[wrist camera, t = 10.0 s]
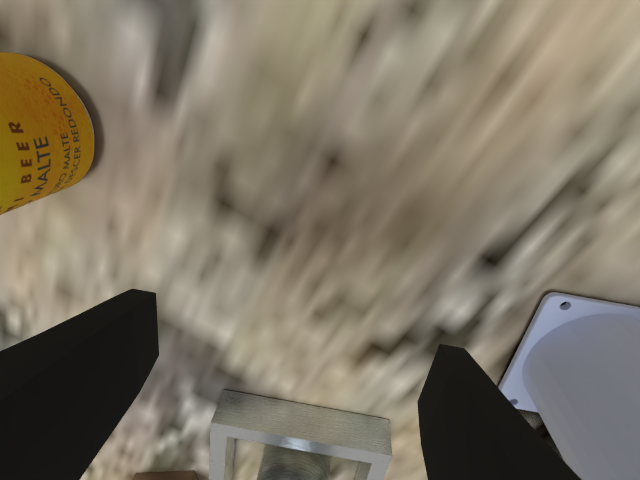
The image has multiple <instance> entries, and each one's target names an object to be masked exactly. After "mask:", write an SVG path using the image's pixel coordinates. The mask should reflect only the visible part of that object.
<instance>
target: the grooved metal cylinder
mask: <svg viewBox="0 0 640 480" xmlns="http://www.w3.org/2000/svg"><path fill="white" fill-rule="evenodd" d="M329 471H330V456H329V455H324V454H319V453H313V452H308V451H302V450H297V449H292V448H286V447H281V446H275V445H270V444H266V445H265V448H264V452H263V456H262V460H261V464H260V469H259V473H258V477H257V480H329Z"/></svg>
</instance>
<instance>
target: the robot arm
mask: <svg viewBox="0 0 640 480" xmlns="http://www.w3.org/2000/svg"><path fill="white" fill-rule="evenodd" d="M563 302H567V303H566V304H565V305H562V306H560V305H561V304H562V303H563ZM158 356H159V346H158V326H157V306H156V293H153V292H148V291H142V290H137V289H130V290H128V291H126V292H124V293H121V294H119V295H117V296H115V297H113V298H111V299H109V300H107V301H105V302H103V303H101V304H99V305H97V306H95V307H93V308H91V309H89V310H87V311H85V312H83V313H81V314H79V315H77V316H75V317H73V318H71V319H68V320H66V321H64V322H62V323H60V324H58V325H56V326H54V327H52V328H50V329H48V330H46V331H44V332H42V333H40V334H38V335H36V336H33V337H31V338H29V339H27V340H24V341H22V342H20V343H18V344H16V345H13V346H11V347H9V348H7V349H5V350H2V351H0V480H79V479H80V478H81V476H82V475H83V474H84V472H85V471H86V469H87V468H88V466H89V465H90V463H91V462H92V461H93V459H94V458H95V456H96V455H97V453H98V452H99V450H100V449H101V448H102V446H103V445H104V443H105V442H106V440H107V439H108V438H109V436H110V435H111V433H112V432H113V430H114V429H115V427H116V426H117V425H118V423H119V422H120V420H121V419H122V417H123V416H124V414H125V413H126V411H127V410H128V408H129V407H130V406H131V404H132V403H133V401H134V400H135V398H136V397H137V395H138V394H139V392H140V390H141V388H142V387H143V385H144V383H145V381H146V379H147V377H148V376H149V374H150V372H151V370H152V368H153V366H154V364H155V362H156V360H157V358H158ZM511 399H513V400H511ZM516 408H517V409H522V410H528V411H533V412H538V413H539V414H540V416H541V418H542V420H543V422H544V424H545V426H546V427H547V429H548V431H549V433H550V435H551V437H552V439H553V440H554V442H555V444H556V446H557V448H558V450H559V452H560V453H561V455H562V457H563V459H564V461H565V462H564V461H563V460H562V459H561V458H560V457H559V456H558V454H557V453H556V452H555V451H554V450H553V449H552V448H551V447H550V446H549V445H548V444H547V443H546V442H545V441H544V440H543V438H542V437H541V436H540V435H539V434H538V433H537V432H536V431H535V430H534V429H533V427H532V426H531V425H530V424H529V423H528V422H527V421H526V420H525V418H524V417H523V416H522V415H521V414H520V413H519V412H518V410H517V409H516ZM418 414H419V427H420V437H421V446H422V451H423V456H424V461H425V466H426V471H427V476H428V480H640V307H636V306H631V305H625V304H619V303H614V302H608V301H602V300H597V299H591V298H586V297H580V296H574V295H569V294H563V293H557V292H552V293H549V294H547V295H546V296H545V297H544V298H543V299H542V301H541V303H540V305H539V307H538V309H537V311H536V313H535V315H534V317H533V319H532V321H531V323H530V325H529V327H528V329H527V331H526V333H525V335H524V337H523V339H522V341H521V343H520V345H519V347H518V349H517V351H516V353H515V355H514V357H513V359H512V361H511V363H510V365H509V367H508V369H507V371H506V373H505V375H504V377H503V379H502V381H501V383H500V385H499V387H497V386H496V385H495V384H494V382H493V381H492V380H491V379H490V378H489V376H488V375H487V374H486V373H485V372H484V371H483V369H482V368H481V367H480V366H479V365H478V363H477V362H476V361H475V360H474V359H473V358H472V357H471V355H470V354H469V353H468V352H467V351H466V350H465V349H464V348H459V347H454V346H448V345H443V344H440V345H439V347H438V350H437V352H436V355H435V358H434V360H433V363H432V366H431V368H430V371H429V374H428V376H427V379H426V381H425V384H424V387H423V389H422V392H421V395H420V397H419V400H418Z"/></svg>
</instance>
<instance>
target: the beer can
mask: <svg viewBox="0 0 640 480" xmlns="http://www.w3.org/2000/svg"><path fill="white" fill-rule="evenodd" d="M94 142H95V138H94V128H93V124H92V121H91V118H90V115H89V113H88V111H87V109H86V107H85V105H84V103H83V102H82V100H81V99H80V97H79V96H78V95H77V94H76V93H75V91H74V90H73V89H72V88H71V87H70V85H69V84H68V83H67V82H66V81H65V80H64V79H63V78H62V77H61V76H59V75H58V74H57V73H56V72H55V71H53V70H52V69H51V68H49V67H48V66H46V65H45V64H43V63H41V62H40V61H37V60H35V59H33V58H31V57H28V56H25V55H21V54H17V53H7V52H0V215H1V214H3V213H6V212H8V211H11V210H13V209H16V208H18V207H21V206H23V205H26V204H28V203H31V202H33V201H35V200H38V199H40V198H43V197H45V196H48V195H50V194H53V193H55V192H58V191H60V190H63V189H65V188H68V187H70V186H72V185H74V184H76V183H77V182H79V181H80V180H81V179H82V178H83V177H84V176H85V174H86V173H87V171H88V170H89V168H90V166H91V163H92V160H93V156H94Z"/></svg>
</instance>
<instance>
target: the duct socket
mask: <svg viewBox="0 0 640 480" xmlns="http://www.w3.org/2000/svg"><path fill="white" fill-rule="evenodd" d="M236 438H237V439H243V440H248V441H254V442H259V443H264V444H270V445H275V446H281V447H286V448H292V449H297V450H302V451H308V452H313V453H319V454H324V455H329V456H335V457H340V458H346V459H351V460H356V461H360V462H359V465H358V468H357V471H356V475H355V478H354V480H383V479H384V477H385V474H386V471H387V469H388V466H389V463H390V460H391V458H392V449H391V438H390V428H389V419H383V418H378V417H372V416H367V415H361V414H356V413H350V412H345V411H339V410H334V409H329V408H323V407H318V406H312V405H307V404H301V403H296V402H290V401H285V400H279V399H274V398H268V397H263V396H257V395H252V394H246V393H241V392H236V391H230V390H225V389H224V391H223V394H222V396H221V399H220V401H219V404H218V406H217V408H216V411H215V413H214V416H213V418H212V421H211V431H210V460H209V480H232V476H233V464H234V451H235V439H236Z"/></svg>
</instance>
